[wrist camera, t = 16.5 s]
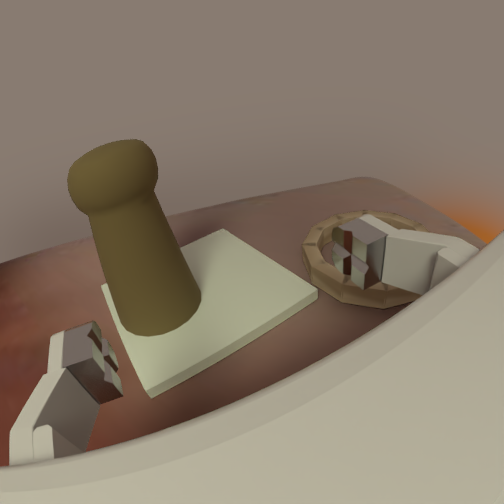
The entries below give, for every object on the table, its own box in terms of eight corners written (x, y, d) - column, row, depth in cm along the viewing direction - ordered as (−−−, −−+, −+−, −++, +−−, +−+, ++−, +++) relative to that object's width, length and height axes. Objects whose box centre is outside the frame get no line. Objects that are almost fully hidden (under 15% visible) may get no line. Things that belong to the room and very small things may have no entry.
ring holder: (388, 332, 16) (392, 314, 15) (277, 261, 24) (275, 245, 23) (457, 256, 21) (460, 240, 20) (360, 215, 28) (361, 200, 27)
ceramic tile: (151, 398, 15) (145, 390, 14) (104, 293, 23) (101, 285, 23) (317, 298, 20) (317, 289, 19) (224, 235, 28) (222, 228, 28)
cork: (111, 301, 21) (53, 161, 15) (180, 267, 24) (140, 128, 18) (134, 351, 17) (51, 176, 11) (218, 306, 19) (173, 130, 13)
